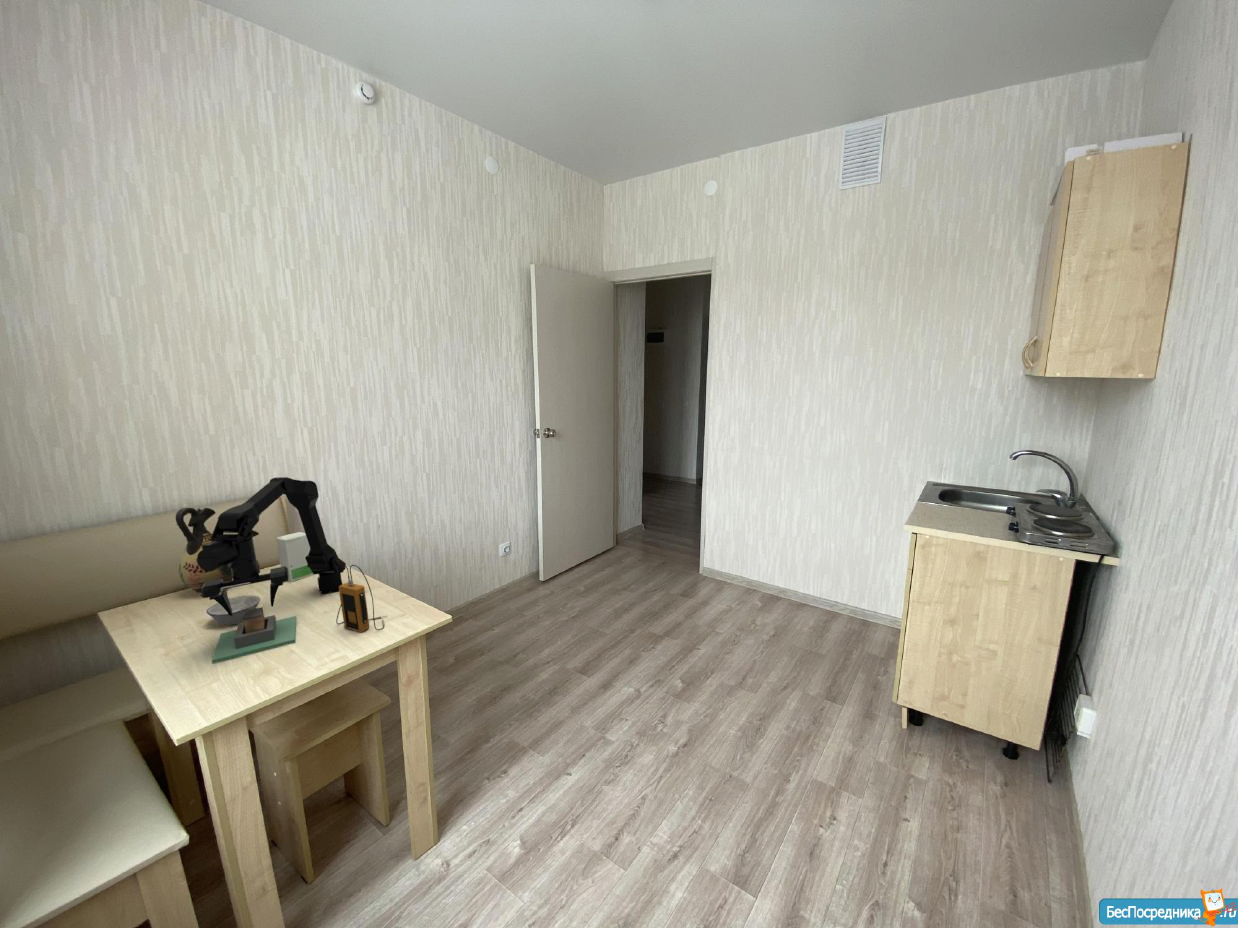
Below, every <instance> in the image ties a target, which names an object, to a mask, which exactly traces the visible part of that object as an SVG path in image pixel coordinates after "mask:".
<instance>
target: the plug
mask: <svg viewBox="0 0 1238 928" xmlns="http://www.w3.org/2000/svg"><path fill="white" fill-rule="evenodd" d="M264 617H265V613H264V608H263V606H261V607H256V609H251V610H247V611H245V614H244V618H243V620H244V621H243V622H244V626H245V631H246V634H247V633H251V632H255V631H259V630H263V629H266V623H265V618H264Z"/></svg>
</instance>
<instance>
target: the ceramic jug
mask: <svg viewBox="0 0 1238 928" xmlns="http://www.w3.org/2000/svg"><path fill="white" fill-rule="evenodd" d="M188 514H190V516H191V517H190V518H189V520H188V524H186V522H185V519H184V517H185V516H187V515H188ZM214 515H216V511H215V510H214V509H212V508H209V507H204V508H202V509H201V508H197V509H195V508H193V507H183V508H181V509H179V510H178V511H177V512H176V513H175V522H176V526H177V527H178V529H180V531H181V533H182V535H183V536H184V537H185V538H186V542H187V543H186V544H185V547H184V548H183V551H182V552H181V556H180V559H179V563H178V574H179V578H180V580H181V582H182V583H183V584H184V586H185V587H188V588H189V589H192V590H193V591H195V592H196V594H197V595H198V596H202V592H201V589H202V587H203V585H204V583H205V582H206V581H210V580H215V579H221V578H222V579H223V582H226V581H231V580H233V577H232V573H228V564H227V565H225V566H223V567H221V568H218V569H216V570H214V571H211V572H208V571H205V570H203V569H201V568H200V566H199V565H198V563H197V556H198V553H199V552H200V551H202V545H204V544H208V543H212V542H214V541H210V539H211V536H212V534H213V533H211V532H210V531H209V530H208V529H207V527H206V525H205V523H206V522H207V521H208V520H209V519H210V518H212V517H213V516H214ZM190 527H191V528H192V531H191V530H190Z"/></svg>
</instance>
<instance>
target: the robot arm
mask: <svg viewBox="0 0 1238 928" xmlns="http://www.w3.org/2000/svg"><path fill="white" fill-rule="evenodd" d="M318 489H319V488H318V486H317V483H316V482H315V481H314V480H313V481H312V480H301V479H300V480H299V479H294V478H290V477H288V476H285V477H284V476H283V477H279V476H277V477H273V478H270V479H269V482H268V483H267V484H266V485H264V486H263V487H262V488H260V489H259V490H258V491H257V492H256V493H254V494H253V495H251V497H250V498H249V499H247V500H246V501H245V502H242V503H241V504H238V505H235V506H233V507H230V508H229V509H226V510H224V511H223V512H221V513H220V514H219V515H218V517H217V522H216V524H215V526H214V528H213V531H212V533H211V534H212V536H211V539H210V541H214V542H212V543H208V544H204V545H202V551H200V552H199V553H198V556H197V563H198V565H199V566H200V568H201V569H203V570H205V571H208V572H211V571H214V570H216V569H218V568H221V567H223V566H225V565H227V564H228V573H232V577H233V579H232V580H231V581H226V582H223V579H222V578H221V579H215V580H210V581H206V582H205V583H204V585H203V587H202V589H201V592H202V595H201V597H202V598H203V599H207V598H208V599H209V600H210V601H211V600H213V601H215V602H216V603H219V604H220V605H221V606H222V607H223V608H224V609H225V610H226V611H227V613H228V614H229V615H230V616H232V615H233V613H232V608H231V605H230V602H229V597H228V592H227V589H232V588H237V587H241V586H246V585H247V586H248V585H251V584H252V585H253V584H257V583H262V582H268V581H269V582H270V585H269V592H270V594H269V595H270V597H269V598H270V599H269V600H270V607H271V608H273V607H274V605H275V601H276V600H275V599H276V595H277V592H278V589H279V587H280V586H281V587H282V586H283V585H284V583H285V582H286V583H287V582H289V581H288V577H289V573H288V568H287V567H285V566H284V567H281V566H279V567H274V568H270V569H269V570H270V571H269V573H263V574H261V568H260V567H261V566H260V563H259V560H258V559H257V555H256V549H255V544H254V537H256V536H258V535H259V532H258V531H257V530H253V529H254V528H255V526H257V524H258V522H259V521H260V516H261V515H262V513H263V512H264V511H266V510H267V509H268V508H269V507H270V506H271V505H273V504H274V503H275V502H277V500H278V499H280V497H282V496H283V495H285V496H286V499H287V500H288V502H289V504H290V505H292V506H293V507H294V508H295V509H297V511H298V515H299V518H300V521H301V524H302V527H303V531H304V533H305V534H306V537H307V540H308V543H309V546H310V551H309V554H308V556H306V557H305V559H306V561H307V566H308V567H309V568H310V569H311V571H312V573H313V574H314V575H318V577H317V585H318V591H319V592H320V594H321V595H326V594H331V593H335V592H336V593H337V592H339V586H340V584H341V585H343V584H344V583H343V582H342V581H343V580H342V573H344V571H345V570H346V569H347V568H346V567H345V566H344V565H343V564H342V563H344V564H345V565H346V564H347V563H346V562H345V561H344V560H342V559H341V558H339V556H338V554H337V551H336V549H334V548H333V547H332V546H331V545H329V543H328V541H327V538H326V535H325V531H324V528H323V525H322V522H321V518H320V514H319V511H318V509H317V505H316V504H317V502H318V499H319V490H318ZM341 562H342V563H341ZM340 563H341V565H340V567H339V564H340ZM346 566H347V565H346ZM338 567H339V572H338ZM337 572H338V576H339V581H340V584H339V581H338V576H337Z"/></svg>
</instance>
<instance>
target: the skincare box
mask: <svg viewBox="0 0 1238 928" xmlns="http://www.w3.org/2000/svg"><path fill="white" fill-rule="evenodd" d="M276 544H277V550H278V558H279V564H280V567H284V566H285V567H287V568H288V573H289V577H288V581H287V582H290V583H292V582H294V581H295V582H296V581H298V580H301V579H304V578H307V577H310V576H314V575H315V574H313V573H312V571H311V569H310V568H309V567H308V566H307V561H306V559H305V557H306V556H308V554H309V551H310V546H309V543H308V540H307V537H306V534H305V532H301V531H297V532H295V533H293V532H292V533H289V534H286V535H282V536H277V537H276Z"/></svg>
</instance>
